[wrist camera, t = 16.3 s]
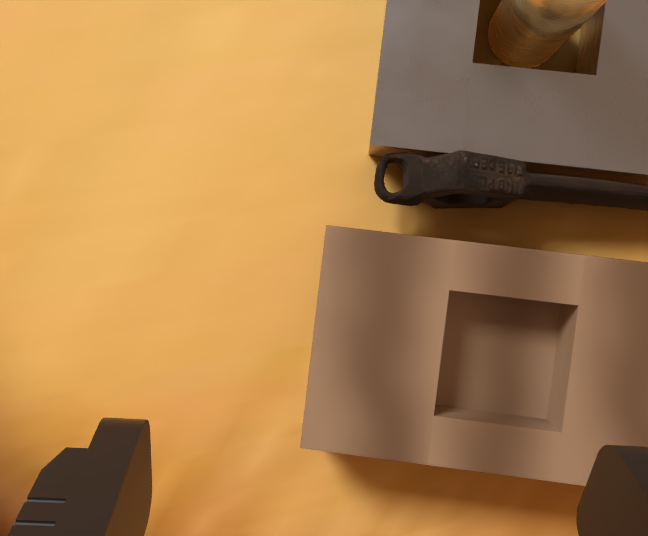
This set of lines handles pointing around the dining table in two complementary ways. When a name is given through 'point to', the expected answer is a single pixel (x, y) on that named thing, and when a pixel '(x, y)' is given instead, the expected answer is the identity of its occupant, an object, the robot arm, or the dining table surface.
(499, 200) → the wrench
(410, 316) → the brown recessed block
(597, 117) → the block
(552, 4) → the gold round-topped peg
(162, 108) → the dining table surface
